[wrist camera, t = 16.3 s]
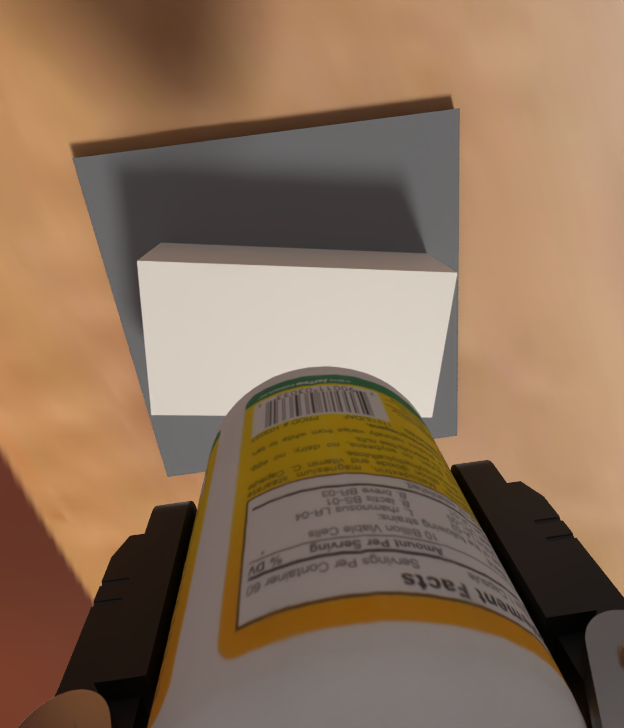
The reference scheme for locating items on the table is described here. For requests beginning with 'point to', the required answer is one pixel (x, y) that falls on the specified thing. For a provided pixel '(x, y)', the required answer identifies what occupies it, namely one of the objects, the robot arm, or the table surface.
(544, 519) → the robot arm
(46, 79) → the table surface
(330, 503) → the supplement bottle
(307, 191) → the mat
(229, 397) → the riser block
